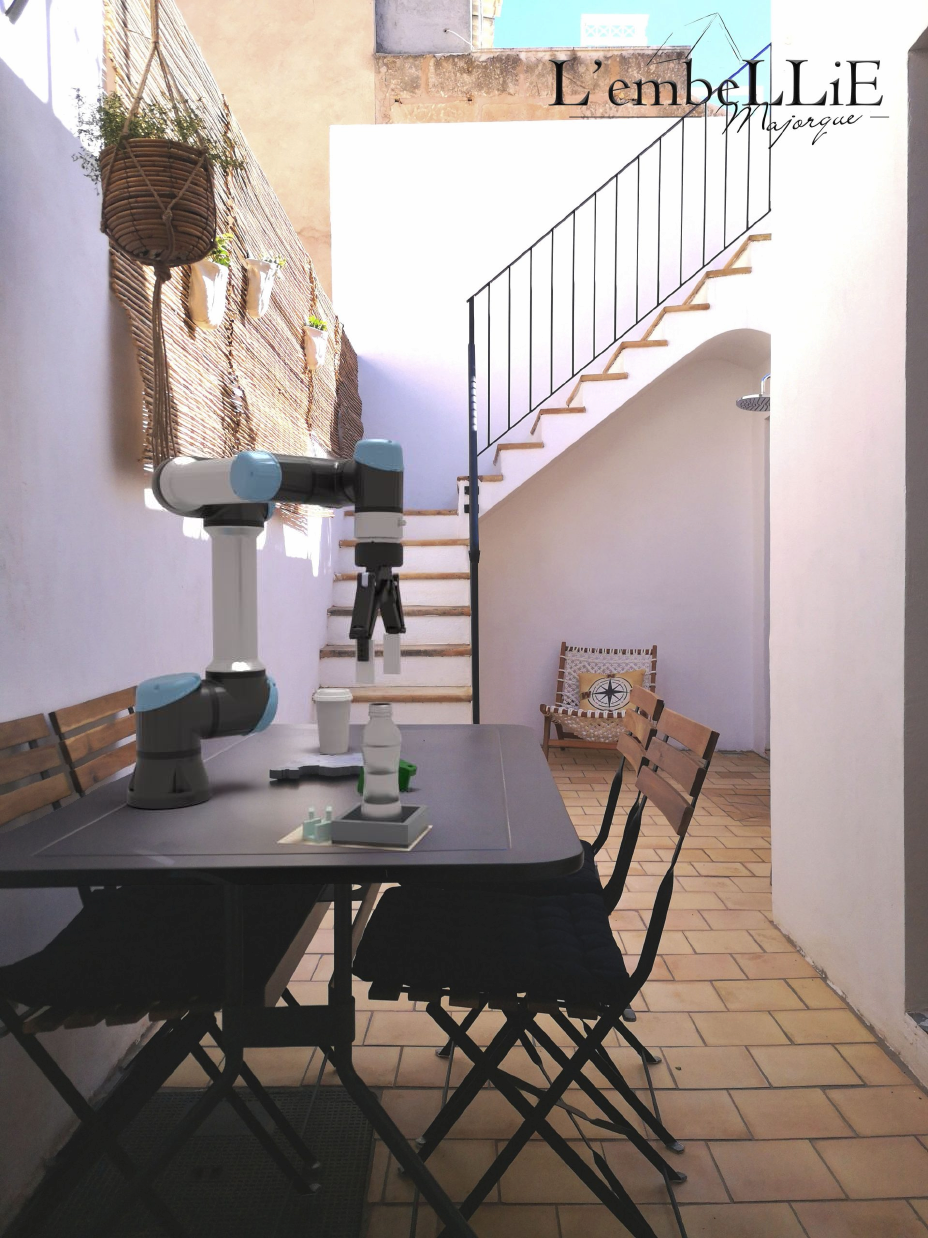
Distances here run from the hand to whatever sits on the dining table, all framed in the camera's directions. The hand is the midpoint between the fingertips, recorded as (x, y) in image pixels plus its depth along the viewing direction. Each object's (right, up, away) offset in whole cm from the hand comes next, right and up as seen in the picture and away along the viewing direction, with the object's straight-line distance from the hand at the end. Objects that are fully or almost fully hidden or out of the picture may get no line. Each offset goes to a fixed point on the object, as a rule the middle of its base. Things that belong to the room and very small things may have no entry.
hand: (379, 678), depth 138 cm
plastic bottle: (0, -24, +1) cm, 24 cm away
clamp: (-1, -25, +34) cm, 42 cm away
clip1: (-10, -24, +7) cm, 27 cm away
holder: (0, -25, +1) cm, 25 cm away
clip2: (-9, -25, -1) cm, 26 cm away
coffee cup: (-18, -23, +77) cm, 82 cm away
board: (-4, -26, +2) cm, 26 cm away
